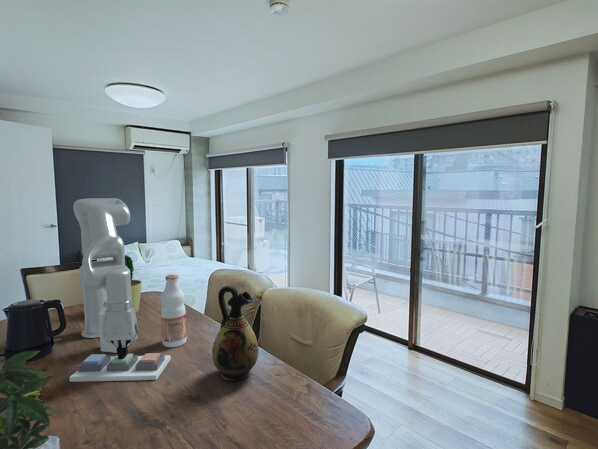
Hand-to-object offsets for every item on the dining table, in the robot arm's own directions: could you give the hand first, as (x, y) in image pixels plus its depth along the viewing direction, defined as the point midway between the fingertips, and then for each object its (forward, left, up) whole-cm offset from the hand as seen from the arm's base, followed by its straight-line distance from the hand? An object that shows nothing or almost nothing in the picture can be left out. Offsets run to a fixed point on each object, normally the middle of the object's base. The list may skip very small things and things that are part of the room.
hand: (122, 357), depth 120 cm
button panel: (0, 0, -5) cm, 5 cm away
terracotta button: (0, +9, -2) cm, 10 cm away
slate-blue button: (0, -10, -2) cm, 10 cm away
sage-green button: (0, 0, -3) cm, 3 cm away
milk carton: (-17, -11, -5) cm, 21 cm away
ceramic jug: (+4, +39, -5) cm, 39 cm away
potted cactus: (-60, -26, -5) cm, 66 cm away
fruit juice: (-21, +11, -5) cm, 24 cm away
